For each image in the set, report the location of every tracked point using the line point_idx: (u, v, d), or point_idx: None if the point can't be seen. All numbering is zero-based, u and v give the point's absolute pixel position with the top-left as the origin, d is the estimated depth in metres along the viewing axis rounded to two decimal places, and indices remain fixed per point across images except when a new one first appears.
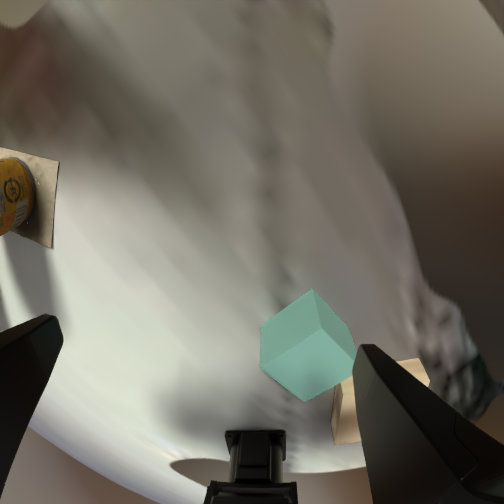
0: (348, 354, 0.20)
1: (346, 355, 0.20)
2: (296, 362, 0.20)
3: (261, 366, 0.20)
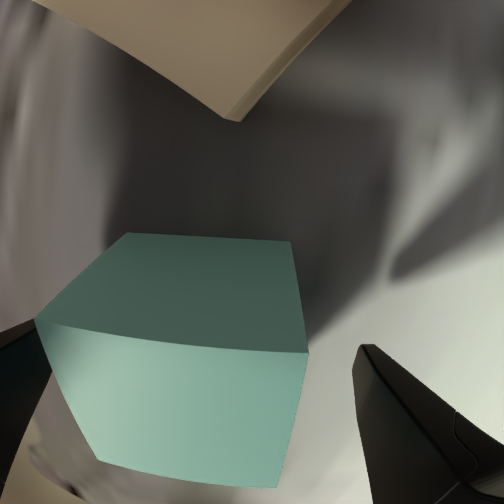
0: (61, 382, 0.06)
1: (64, 392, 0.06)
2: (193, 461, 0.06)
3: (271, 486, 0.07)
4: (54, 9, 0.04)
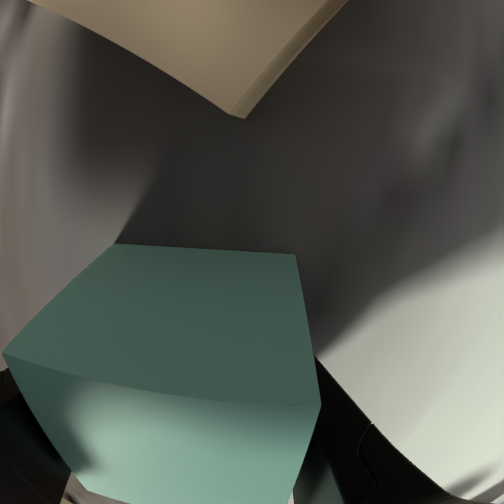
0: (39, 417, 0.05)
1: (43, 427, 0.05)
2: (187, 499, 0.05)
3: None
4: None
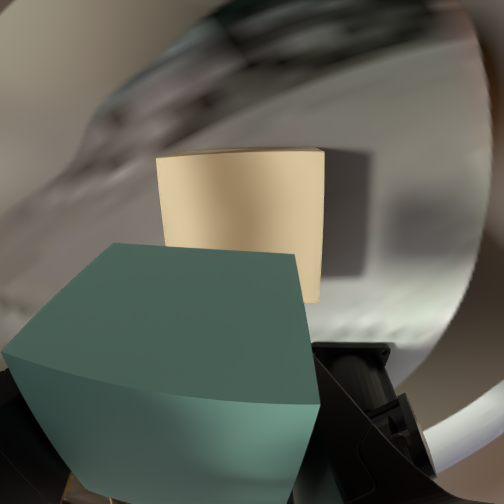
0: (38, 416, 0.05)
1: (42, 427, 0.05)
2: (187, 499, 0.05)
3: None
4: (163, 220, 0.16)
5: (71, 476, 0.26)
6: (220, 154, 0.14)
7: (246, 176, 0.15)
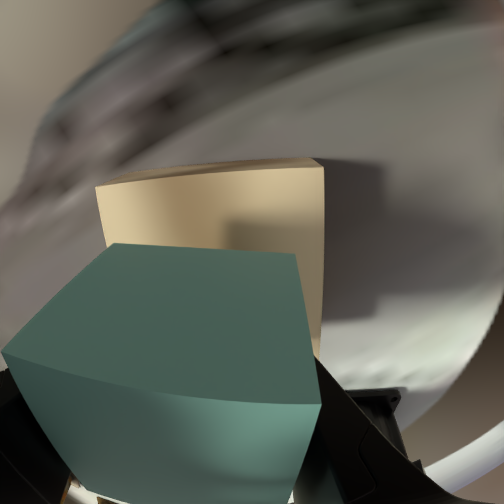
0: (39, 416, 0.05)
1: (42, 426, 0.05)
2: (187, 499, 0.05)
3: None
4: None
5: None
6: (176, 177, 0.10)
7: (213, 207, 0.11)
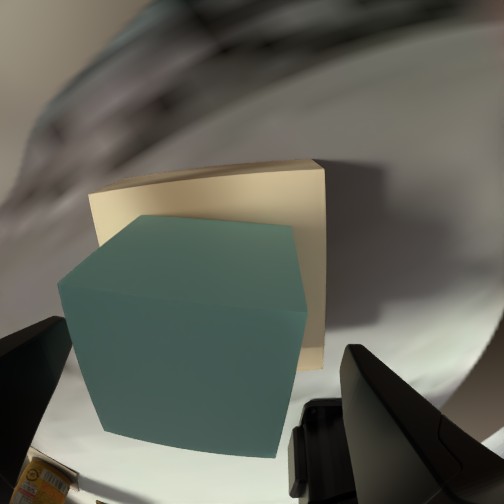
0: (76, 348, 0.06)
1: (79, 356, 0.06)
2: (197, 426, 0.07)
3: (270, 456, 0.07)
4: None
5: None
6: (170, 183, 0.10)
7: (209, 213, 0.10)
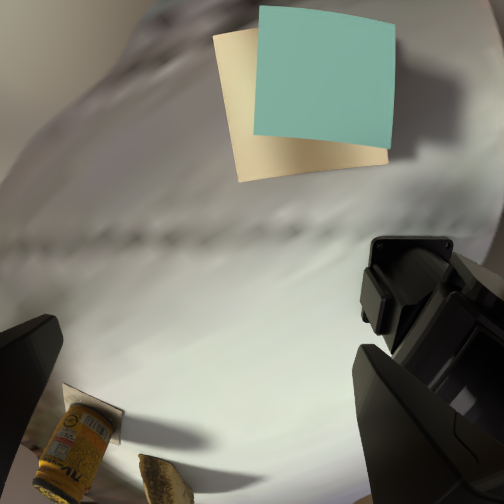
0: None
1: (259, 53, 0.09)
2: (338, 107, 0.10)
3: (386, 148, 0.11)
4: (223, 91, 0.15)
5: (99, 459, 0.25)
6: None
7: None
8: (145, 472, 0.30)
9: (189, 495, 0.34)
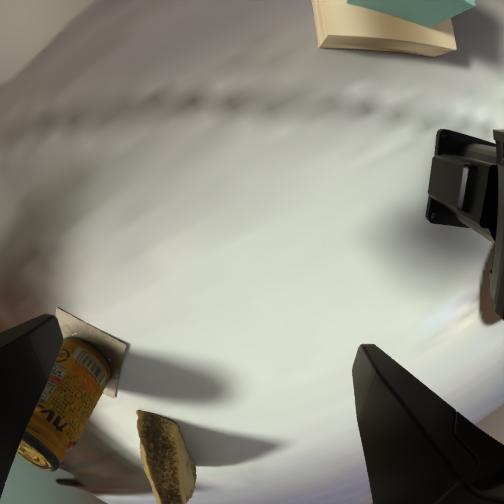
0: None
1: None
2: None
3: (472, 5, 0.08)
4: None
5: (90, 407, 0.22)
6: None
7: None
8: (144, 432, 0.26)
9: (192, 466, 0.30)
